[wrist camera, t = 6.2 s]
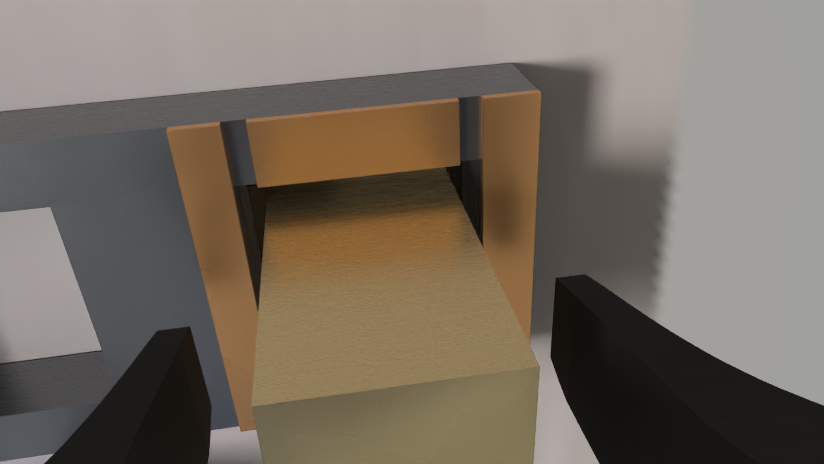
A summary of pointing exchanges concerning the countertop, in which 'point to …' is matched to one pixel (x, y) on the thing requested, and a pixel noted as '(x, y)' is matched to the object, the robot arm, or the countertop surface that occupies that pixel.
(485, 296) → the peg
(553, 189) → the countertop surface
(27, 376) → the rail
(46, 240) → the countertop surface
